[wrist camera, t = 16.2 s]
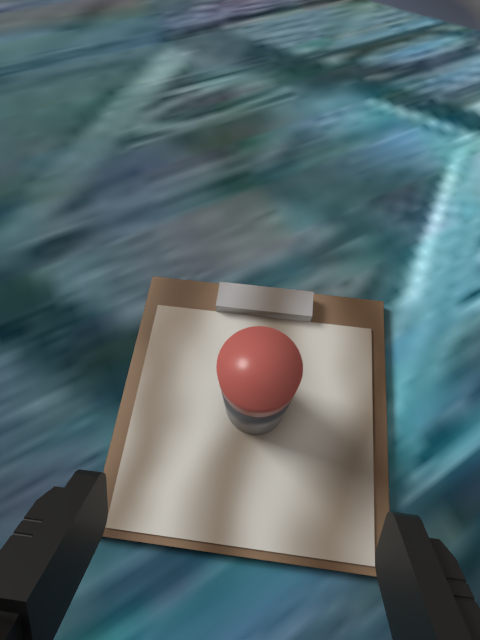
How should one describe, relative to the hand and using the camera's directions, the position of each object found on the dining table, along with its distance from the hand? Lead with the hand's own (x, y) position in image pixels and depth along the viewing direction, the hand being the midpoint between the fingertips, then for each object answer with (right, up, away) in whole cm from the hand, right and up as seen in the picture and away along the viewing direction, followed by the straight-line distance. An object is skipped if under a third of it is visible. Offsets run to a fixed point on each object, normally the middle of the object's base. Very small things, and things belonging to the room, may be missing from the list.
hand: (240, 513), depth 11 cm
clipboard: (+1, -1, +16) cm, 16 cm away
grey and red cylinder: (+1, 0, +15) cm, 15 cm away
